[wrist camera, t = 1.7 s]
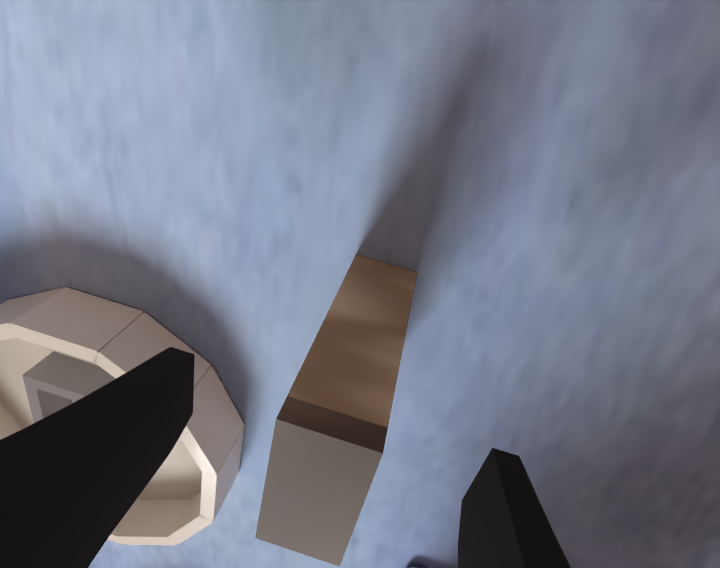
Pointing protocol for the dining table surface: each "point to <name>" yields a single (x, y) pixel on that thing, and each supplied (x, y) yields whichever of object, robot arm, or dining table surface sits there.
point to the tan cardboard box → (337, 415)
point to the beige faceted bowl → (99, 367)
